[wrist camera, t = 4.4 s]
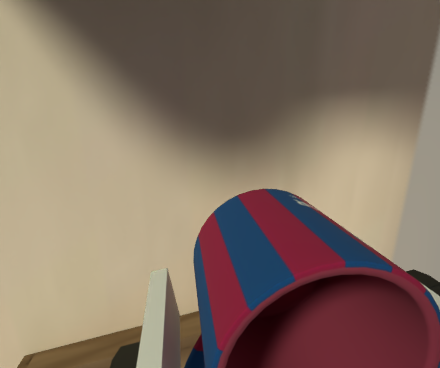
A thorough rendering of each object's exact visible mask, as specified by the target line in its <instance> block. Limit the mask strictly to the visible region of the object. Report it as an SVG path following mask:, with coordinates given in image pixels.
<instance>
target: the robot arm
mask: <svg viewBox="0 0 440 368" xmlns="http://www.w3.org/2000/svg"><path fill="white" fill-rule="evenodd" d="M343 228H344V227H343ZM344 229H345V228H344ZM347 231H348V230H347ZM350 233H351V232H350ZM354 236H355V235H354ZM357 238H358V237H357ZM361 241H362V240H361ZM364 243H365V242H364ZM371 248H372V247H371ZM378 253H379V252H378ZM406 272H407V273H408V274H410V275H411V276H413V277H414V278H415V279H417V280H418V281H419V282H420V283H421V284H422V285H423V286H424V287H425V288H426V289H427V290H428V291H429V292H430V293H431V295H432V297H433V298H434V300H435V302H436V304H437V305H438V307H439V310H440V282H438V281H437V280H435V279H434V278H432V277H431V276H429V275H427V274H424V273H421V272H419V271H416V270H410V271H406ZM110 368H181V354H180V314H179V310H178V307H177V303H176V299H175V295H174V291H173V288H172V284H171V280H170V276H169V272H168V269H167V268H164V269H160V270H156V271H152V272H151V276H150V282H149V289H148V295H147V302H146V308H145V314H144V321H143V327H142V334H141V340H140V342H136V343H132V344H128V345H125V346H121V347H120V348H119V350H118V351H117V353H116V354H115V356H114V357H113V359H112V361H111V365H110Z"/></svg>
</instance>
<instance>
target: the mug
mask: <svg viewBox="0 0 440 368" xmlns="http://www.w3.org/2000/svg"><path fill="white" fill-rule="evenodd" d="M194 270H195V279H196V289H197V298H198V307H199V316H200V325H201V335H200V336H199V338H198V340H197V342H196V343H195V345H194V347H193V349H192V351H191V353H190V355H189V357H188V359H187V362H186V364H185V367H184V368H440V310H439V307H438V305H437V304H436V302H435V300H434V298H433V297H432V295H431V293H430V292H429V291H428V290H427V289H426V288H425V287H424V286H423V285H422V284H421V283H420V282H419V281H418V280H417V279H415V278H414V277H413V276H411V275H410V274H408V273H407V272H405V271H404V270H403V269H401V268H400V267H398V266H397V265H395V264H394V263H393V262H391V261H390V260H388V259H387V258H386V257H384V256H383V255H381V254H380V253H378V252H377V251H376V250H374V249H373V248H371V247H370V246H369V245H367V244H366V243H364V242H363V241H361V240H360V239H359V238H357V237H356V236H354V235H353V234H352V233H350V232H349V231H347V230H346V229H344V228H343V227H342V226H340V225H339V224H337V223H336V222H335V221H333V220H332V219H330V218H329V217H327V216H326V215H325V214H323V213H322V212H320V211H319V210H317V209H316V208H315V207H313V206H312V205H310V204H309V203H308V202H306V201H305V200H303V199H302V198H300V197H299V196H297V195H294V194H292V193H289V192H286V191H282V190H277V189H259V190H252V191H249V192H246V193H242V194H239V195H237V196H235V197H233V198H231V199H230V200H228V201H226V202H225V203H224V204H222V205H221V206H220V207H218V208H217V209H216V210H215V211H214V212H213V213H212V214H211V215H210V216H209V218H208V219H207V221H206V222H205V223H204V225H203V226H202V228H201V230H200V233H199V235H198V237H197V240H196V244H195V248H194Z"/></svg>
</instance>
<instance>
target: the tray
mask: <svg viewBox="0 0 440 368" xmlns="http://www.w3.org/2000/svg"><path fill="white" fill-rule="evenodd" d="M142 327H143V326H139V327H135V328H131V329H127V330H124V331H120V332H116V333H112V334H108V335H104V336H100V337H96V338H92V339H89V340H85V341H81V342H77V343H73V344H69V345H65V346H61V347H58V348H54V349H50V350H46V351H42V352H38V353H34V354H30V355H26V356H24V358H23V359H22V361H21V362H20V364H19V366H18V367H17V368H110V365H111V361H112V359H113V357H114V356H115V354H116V353H117V351H118V350H119V348H120V347H121V346H125V345H128V344H132V343H136V342H140V340H141V334H142ZM200 335H201V325H200V316H199V311H197V312H193V313H190V314H186V315H182V316H180V354H181V368H184V367H185V364H186V362H187V359H188V357H189V355H190V353H191V351H192V349H193V347H194V345H195V343H196V342H197V340H198V338H199V336H200Z"/></svg>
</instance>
